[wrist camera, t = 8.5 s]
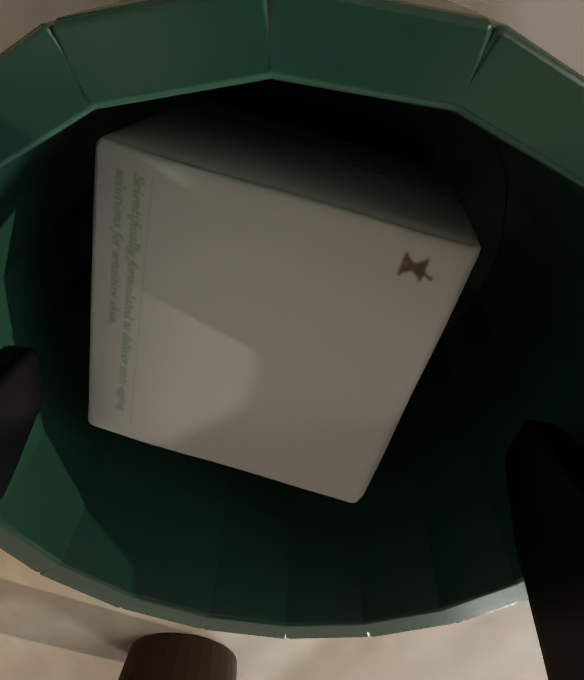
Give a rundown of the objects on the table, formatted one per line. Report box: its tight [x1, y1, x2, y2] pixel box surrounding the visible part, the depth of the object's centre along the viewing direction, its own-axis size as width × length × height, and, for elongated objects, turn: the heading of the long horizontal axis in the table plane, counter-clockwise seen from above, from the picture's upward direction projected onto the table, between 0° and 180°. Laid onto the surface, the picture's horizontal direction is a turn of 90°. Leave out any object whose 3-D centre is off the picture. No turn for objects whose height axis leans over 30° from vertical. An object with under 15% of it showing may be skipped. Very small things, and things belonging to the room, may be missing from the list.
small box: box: [88, 96, 481, 503], centre depth 10 cm, size 6×6×5 cm
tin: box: [0, 0, 584, 639], centre depth 10 cm, size 11×11×8 cm
